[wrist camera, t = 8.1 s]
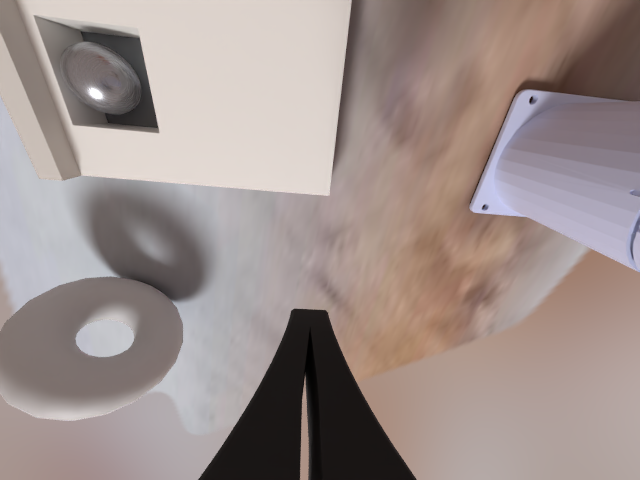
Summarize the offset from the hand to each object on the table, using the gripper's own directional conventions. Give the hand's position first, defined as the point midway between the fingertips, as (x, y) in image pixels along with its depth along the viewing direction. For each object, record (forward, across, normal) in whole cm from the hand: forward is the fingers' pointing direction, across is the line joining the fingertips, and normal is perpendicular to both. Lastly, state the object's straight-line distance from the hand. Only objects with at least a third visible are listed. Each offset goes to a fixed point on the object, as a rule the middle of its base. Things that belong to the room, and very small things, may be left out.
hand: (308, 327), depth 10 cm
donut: (+11, +14, +8) cm, 19 cm away
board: (+10, +7, -8) cm, 15 cm away
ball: (+9, +12, -8) cm, 17 cm away
